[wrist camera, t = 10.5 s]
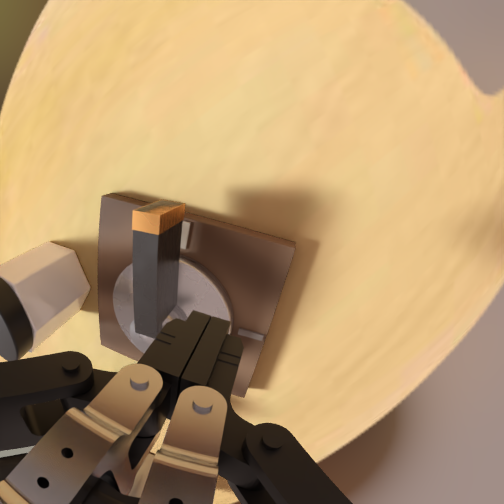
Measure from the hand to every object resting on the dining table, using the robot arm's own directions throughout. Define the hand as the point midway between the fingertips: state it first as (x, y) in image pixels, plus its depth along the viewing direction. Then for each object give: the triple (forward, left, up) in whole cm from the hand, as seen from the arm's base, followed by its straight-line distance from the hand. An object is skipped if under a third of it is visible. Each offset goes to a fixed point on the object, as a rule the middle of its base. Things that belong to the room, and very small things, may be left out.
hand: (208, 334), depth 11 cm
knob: (-6, +5, -12) cm, 14 cm away
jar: (-10, +20, -14) cm, 27 cm away
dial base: (-8, +5, -13) cm, 16 cm away
